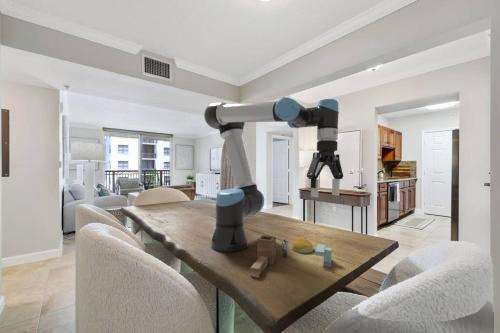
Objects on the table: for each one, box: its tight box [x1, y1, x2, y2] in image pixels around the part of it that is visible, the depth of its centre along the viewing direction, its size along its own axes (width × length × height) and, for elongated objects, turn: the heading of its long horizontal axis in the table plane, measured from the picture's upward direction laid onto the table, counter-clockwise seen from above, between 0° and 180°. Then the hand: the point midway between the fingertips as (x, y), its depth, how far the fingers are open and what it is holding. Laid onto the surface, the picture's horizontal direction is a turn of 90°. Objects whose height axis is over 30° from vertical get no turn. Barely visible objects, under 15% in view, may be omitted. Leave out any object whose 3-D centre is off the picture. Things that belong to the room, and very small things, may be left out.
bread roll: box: [292, 238, 314, 254], centre depth 91 cm, size 8×9×4 cm
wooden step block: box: [249, 234, 277, 279], centre depth 74 cm, size 15×5×8 cm, turn 159°
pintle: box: [281, 237, 289, 258], centre depth 84 cm, size 2×2×6 cm
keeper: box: [314, 243, 332, 268], centre depth 79 cm, size 5×8×5 cm, turn 159°
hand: (325, 196), depth 86 cm, fingers open, 13 cm apart
